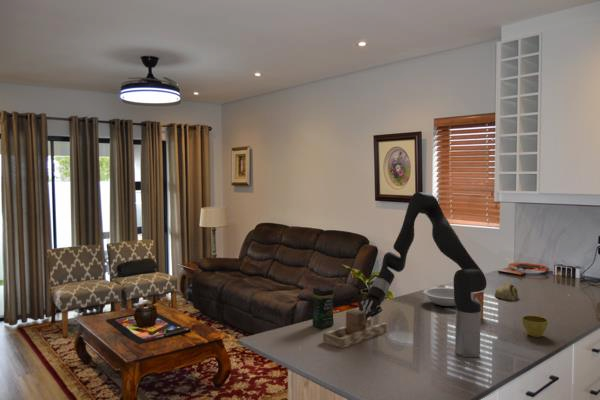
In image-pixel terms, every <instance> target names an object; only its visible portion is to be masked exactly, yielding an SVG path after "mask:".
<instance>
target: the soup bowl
mask: <svg viewBox="0 0 600 400" xmlns="http://www.w3.org/2000/svg"><path fill="white" fill-rule="evenodd" d="M423 294H424V295H425V296H427V298H428V299H429V301H431V302H432V304H433V303H434V305H438V306H442V307H456V304H455V301H454V287H453V288H451V287H429V288H426V289H424V290H423Z"/></svg>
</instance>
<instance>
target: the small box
mask: <svg viewBox="0 0 600 400" xmlns="http://www.w3.org/2000/svg"><path fill="white" fill-rule="evenodd" d="M484 291H485V290H483V291H480V292H474V293H471V299H472V300H474V301H477V302H479V303H480V305H481V318H483V317H484V300H485V299H484V293H485V292H484Z"/></svg>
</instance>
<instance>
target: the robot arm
mask: <svg viewBox="0 0 600 400" xmlns="http://www.w3.org/2000/svg"><path fill="white" fill-rule="evenodd" d="M419 214H424V215H425V216H426V217H427V218H428V219H429V221H430V223H431V225H432V228H431V229H432V230H431V231H432V232H431V236H432V239H433V241H434V243H435V245H436V247H437V249H438V250H439V251H440V252H441V253H442V254H443V255H444V256H446V257H447V258H448V259H450V260H452V262H454V263H455V264H456V265H457V266H459V268H460V269H458V270H457V271H455V273H454V275H453V289H454V301H455V304H456V306H455V329H454V330H455V332H454V335H455V337H454V338H455V340H454V342H455V343H454V352H455V354H457V355H459V356H461V357H463V358H480V355H481V321H482V320H481V319H482V317H481V305H480V303H479V302H477V301H474V300H472V299H471V293H474V292H480V291H485V289H486V288H487V285H488V284H487V279H486V276H485V274H484V272H483V270H482V269H481V268H480V266H479V265H478V264H477V263H476V261H475V260H474V259H473V258H472V256H471V255H470V253H469V252H468V251H467V249H466V247H465V245H464V244H463V243H462V241H461V240H460V238H459V237H458V235H457V233H456V232H455V230H454V228H453V227H452V225H451V224H450V222H449V221H448V218H447V217H446V216H445V214H444V212H443V210H442V207H441V206H440V202H439V200H438V199H437V198H436V197H435V196H434V195H433V194H430V193H427V192H421V191H418V192H415V193H413V194H412V196H411V197H410V199H409V202H408V205H407V208H406V212H405V215H404V219H403V222H402V226H401V228H400V230H399V233H398V235H397V237H396V238H395V239H396V240H395V242H393V243H394V244H393V249H394V250H395V251H396V253H398V254H399V255H398V254H396V253H394V252H391V251H388V252H385V253H384V256H383V259H382V264H381V267H380V271H379V273H378V275H377V277H376V278H375V280H374V281H373V283H372V284H371V286H370V288H369V290H368V292H367V293H366V297H365V298H364V299H363V301H361V300H359V301H358V302H357V304H358V310H360V311H364V312H366V321H367V319H368V318H370V317H371V318H373V317H375V316H376V315H378V314H380V313H381V312H383V310H384V309H383V308H382V307H381V304H382V303H383V302H384V299H385V297H386V296H387V294H388V292H389V290H390V287H391V285H392V283H393V281H394V279H395V274H394V273H393V272H392V271H391V270H393V271H394V272H397V273H400V272H402V271H404V269H405V268H406V267H405V266H406V262H407V261H406V260H407V256H408V253H409V251H410V248H411V246H412V244H413V242H414V239H415V223H416V219H417V217H418V216H419Z"/></svg>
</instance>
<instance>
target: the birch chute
mask: <svg viewBox="0 0 600 400" xmlns="http://www.w3.org/2000/svg"><path fill="white" fill-rule="evenodd" d="M385 333H387V323H386V322H381V323H378V324H375V325H372V319H371V318H370V317H368V319H367V321H366V329H364V330H361V331H358V332H355V333H352V334H350V335H348V334H346V325H344V326H341V327H338V328H335V329H333V330H329V331H326V332H323V334H322V342H323V343H324V344H327V345H329V346H333V347H335V348H338V349H343V348H346V347H350V346H352V345H354V344H357V343H360V342H362V341H366V340H368V339H371V338H374V337H376V336H379V335H381V334H385Z"/></svg>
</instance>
